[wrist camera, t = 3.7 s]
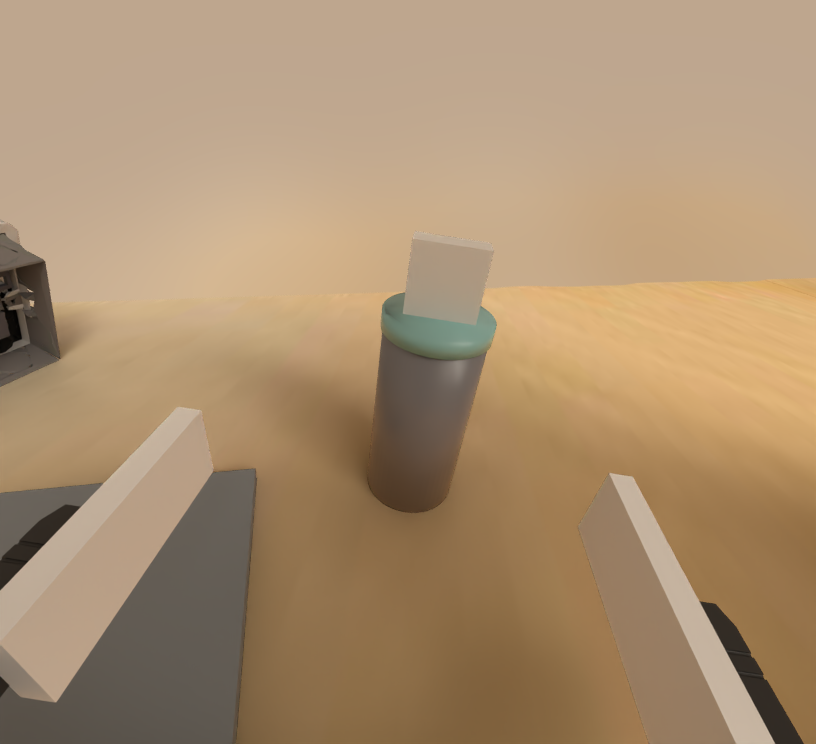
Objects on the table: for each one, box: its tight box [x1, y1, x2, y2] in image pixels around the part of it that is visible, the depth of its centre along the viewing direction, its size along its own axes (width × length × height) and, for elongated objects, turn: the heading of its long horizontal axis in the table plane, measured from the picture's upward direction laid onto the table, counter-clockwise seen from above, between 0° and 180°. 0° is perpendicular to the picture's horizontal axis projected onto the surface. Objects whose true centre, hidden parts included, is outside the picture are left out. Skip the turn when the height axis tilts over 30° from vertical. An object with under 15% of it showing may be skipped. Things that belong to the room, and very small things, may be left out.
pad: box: [0, 469, 257, 744], centre depth 14 cm, size 12×12×1 cm
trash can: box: [368, 231, 497, 513], centre depth 18 cm, size 5×5×13 cm
